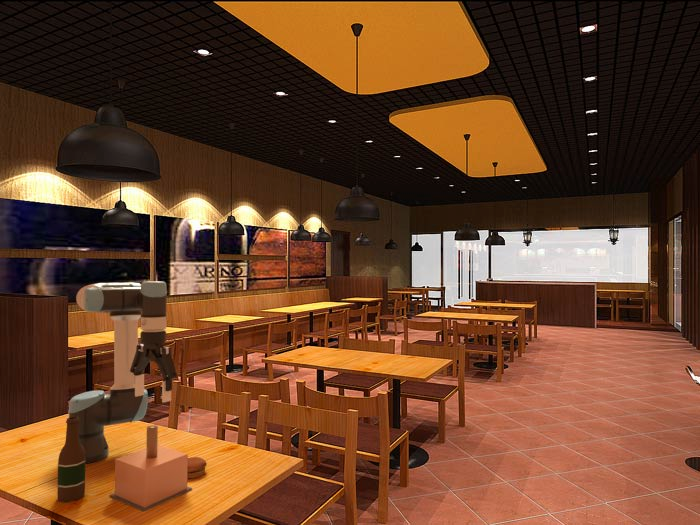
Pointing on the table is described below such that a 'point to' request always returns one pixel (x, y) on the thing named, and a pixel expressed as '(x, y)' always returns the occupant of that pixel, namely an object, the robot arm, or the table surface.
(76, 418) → the beer bottle
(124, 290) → the robot arm
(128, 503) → the mat
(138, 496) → the pink box with peg
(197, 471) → the burger
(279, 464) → the table surface
